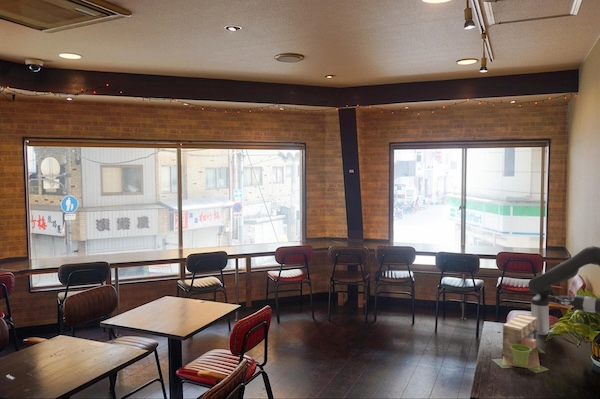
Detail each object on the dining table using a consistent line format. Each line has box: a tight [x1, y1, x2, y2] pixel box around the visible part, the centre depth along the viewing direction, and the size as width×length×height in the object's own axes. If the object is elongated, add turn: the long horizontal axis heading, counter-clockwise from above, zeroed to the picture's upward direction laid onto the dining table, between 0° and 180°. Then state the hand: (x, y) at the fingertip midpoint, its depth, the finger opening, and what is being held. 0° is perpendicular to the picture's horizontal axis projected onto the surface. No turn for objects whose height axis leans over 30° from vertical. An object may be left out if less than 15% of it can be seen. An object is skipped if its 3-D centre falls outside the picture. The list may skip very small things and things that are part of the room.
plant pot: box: [510, 344, 532, 368], centre depth 234 cm, size 9×9×9 cm
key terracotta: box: [523, 337, 537, 350], centre depth 242 cm, size 4×6×4 cm, turn 47°
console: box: [502, 313, 538, 359], centre depth 252 cm, size 25×9×16 cm, turn 137°
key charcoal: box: [532, 330, 539, 340], centre depth 255 cm, size 4×6×4 cm, turn 47°
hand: (548, 297), depth 246 cm, fingers closed
